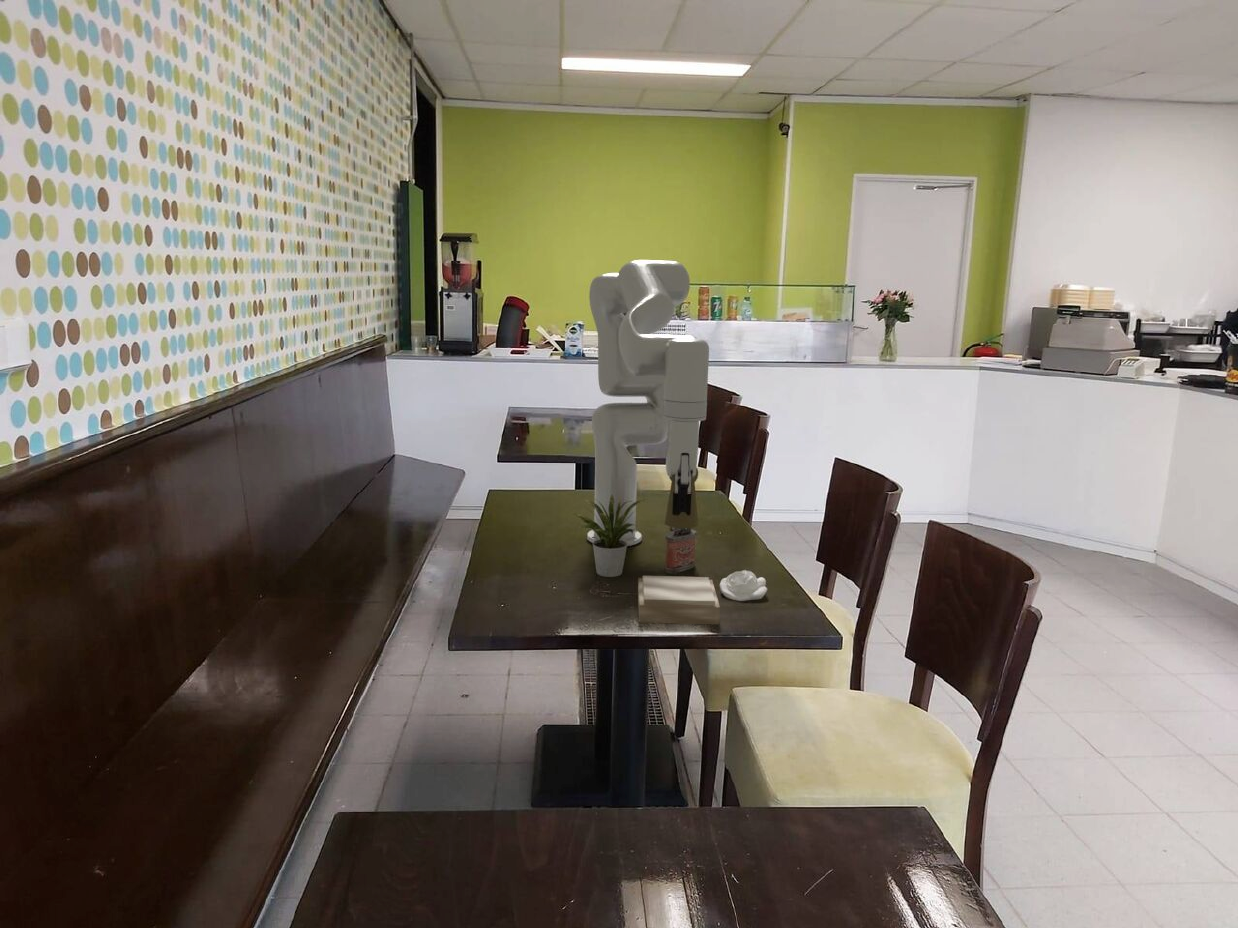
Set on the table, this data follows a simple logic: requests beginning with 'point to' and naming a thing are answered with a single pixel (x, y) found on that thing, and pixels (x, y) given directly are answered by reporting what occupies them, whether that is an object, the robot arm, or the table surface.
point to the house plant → (609, 538)
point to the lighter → (680, 550)
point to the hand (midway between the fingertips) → (680, 511)
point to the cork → (682, 519)
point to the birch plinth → (677, 600)
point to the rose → (743, 586)
